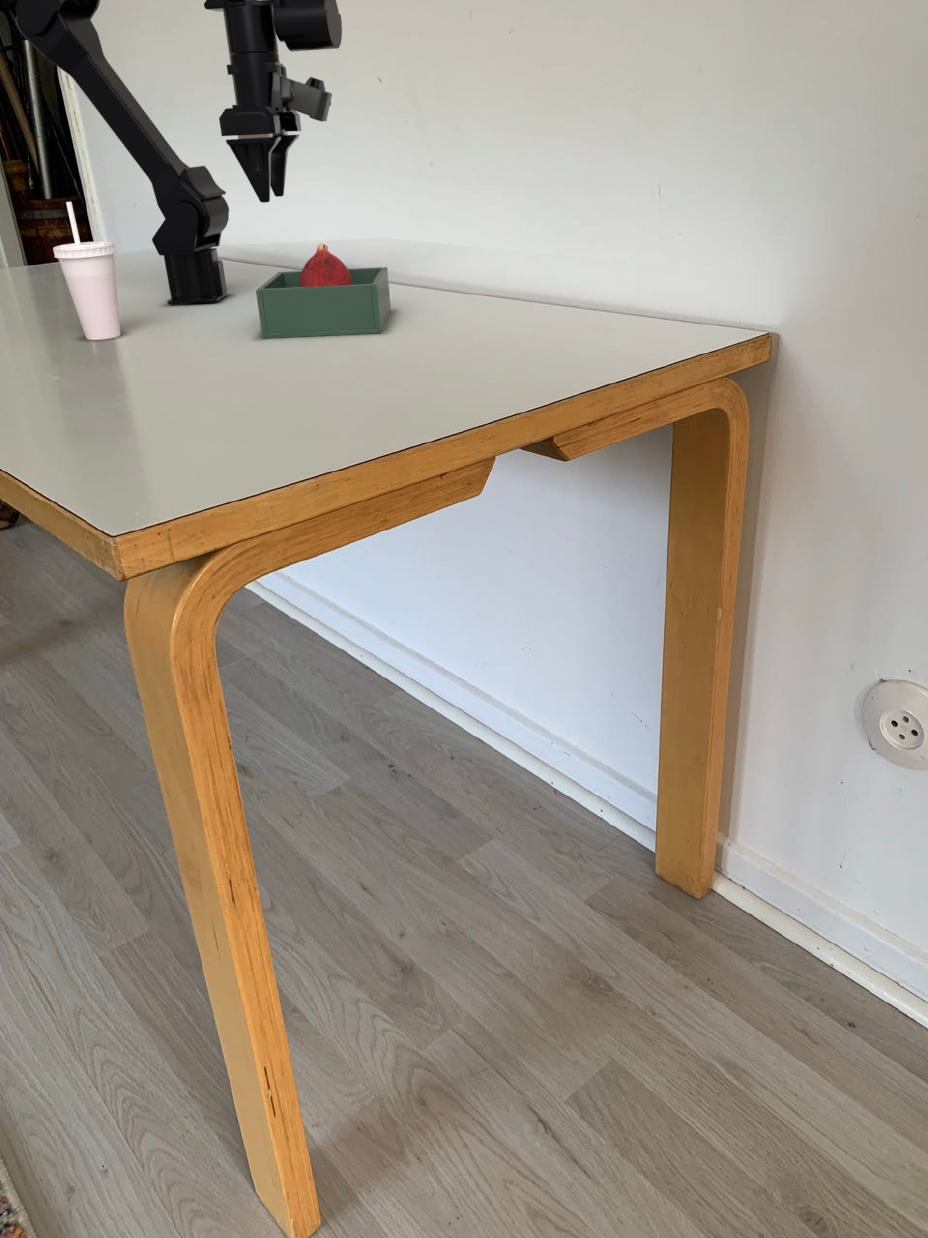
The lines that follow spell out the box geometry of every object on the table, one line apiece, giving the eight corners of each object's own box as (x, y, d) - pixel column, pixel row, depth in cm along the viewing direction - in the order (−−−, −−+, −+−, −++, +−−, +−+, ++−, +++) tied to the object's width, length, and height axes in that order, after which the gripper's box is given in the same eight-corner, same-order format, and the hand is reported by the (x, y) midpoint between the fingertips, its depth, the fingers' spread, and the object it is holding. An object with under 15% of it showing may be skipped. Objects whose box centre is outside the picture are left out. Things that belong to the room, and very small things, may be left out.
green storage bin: (262, 338, 103) (255, 289, 100) (284, 315, 114) (278, 271, 112) (380, 333, 102) (376, 284, 100) (390, 311, 113) (387, 266, 111)
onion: (358, 321, 106) (351, 244, 102) (306, 326, 105) (297, 248, 101) (351, 312, 111) (344, 239, 107) (302, 316, 110) (293, 242, 106)
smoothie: (70, 335, 109) (39, 202, 102) (127, 327, 111) (100, 197, 105) (77, 344, 104) (45, 205, 97) (137, 336, 106) (110, 200, 100)
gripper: (309, 45, 103) (326, 202, 111) (333, 54, 120) (346, 190, 127) (207, 51, 104) (230, 206, 111) (245, 59, 120) (263, 194, 127)
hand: (272, 199), depth 119 cm, fingers open, 9 cm apart
